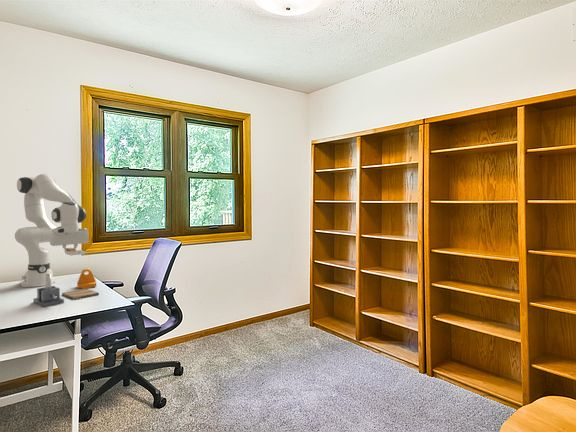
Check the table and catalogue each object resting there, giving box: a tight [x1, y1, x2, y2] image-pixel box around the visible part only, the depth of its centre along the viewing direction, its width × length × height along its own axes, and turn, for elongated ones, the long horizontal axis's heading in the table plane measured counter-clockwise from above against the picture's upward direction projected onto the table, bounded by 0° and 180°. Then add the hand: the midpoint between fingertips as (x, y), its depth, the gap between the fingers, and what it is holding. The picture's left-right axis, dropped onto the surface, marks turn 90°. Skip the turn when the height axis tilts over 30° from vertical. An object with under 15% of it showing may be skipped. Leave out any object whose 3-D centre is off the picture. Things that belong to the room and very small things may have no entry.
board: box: [61, 288, 100, 301], centre depth 213 cm, size 16×14×1 cm
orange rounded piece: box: [76, 267, 97, 290], centre depth 232 cm, size 11×7×12 cm, turn 121°
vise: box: [32, 274, 65, 308], centre depth 195 cm, size 17×10×16 cm, turn 53°
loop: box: [64, 247, 87, 256], centre depth 209 cm, size 15×8×2 cm, turn 52°
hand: (70, 251), depth 212 cm, fingers closed on loop, 2 cm apart
